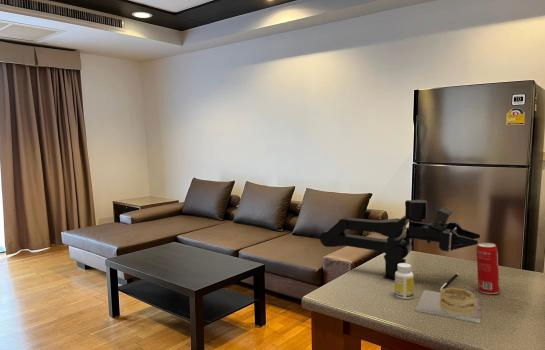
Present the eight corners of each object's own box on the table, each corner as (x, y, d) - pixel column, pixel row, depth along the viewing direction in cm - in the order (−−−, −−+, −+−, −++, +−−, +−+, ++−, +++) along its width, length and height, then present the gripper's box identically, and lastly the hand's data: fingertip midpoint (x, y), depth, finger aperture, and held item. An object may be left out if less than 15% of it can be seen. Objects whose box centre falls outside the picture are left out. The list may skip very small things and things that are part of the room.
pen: (438, 291, 123) (438, 288, 123) (456, 274, 137) (456, 271, 137) (441, 292, 122) (441, 288, 122) (459, 275, 136) (459, 271, 136)
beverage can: (502, 295, 118) (503, 247, 116) (478, 294, 119) (480, 246, 118) (495, 288, 124) (496, 242, 122) (473, 287, 125) (474, 241, 123)
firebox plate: (415, 310, 109) (416, 296, 109) (424, 292, 121) (424, 279, 121) (480, 323, 101) (480, 307, 101) (482, 302, 113) (482, 288, 113)
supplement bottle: (413, 293, 121) (413, 262, 120) (413, 300, 116) (414, 268, 115) (395, 291, 123) (395, 261, 122) (394, 298, 118) (394, 267, 117)
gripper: (421, 212, 120) (478, 218, 112) (432, 204, 136) (482, 209, 128) (419, 247, 121) (475, 256, 113) (430, 235, 137) (480, 242, 129)
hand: (478, 239), depth 121 cm, fingers open, 9 cm apart
